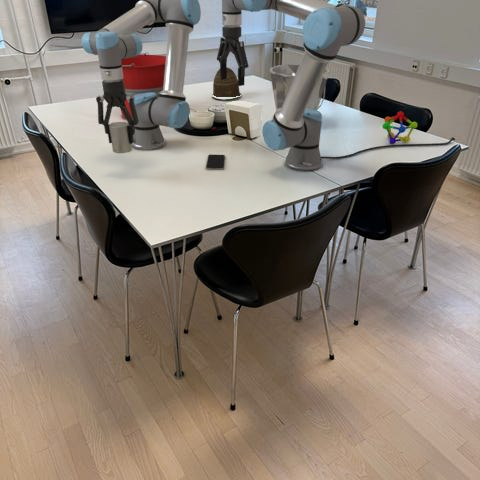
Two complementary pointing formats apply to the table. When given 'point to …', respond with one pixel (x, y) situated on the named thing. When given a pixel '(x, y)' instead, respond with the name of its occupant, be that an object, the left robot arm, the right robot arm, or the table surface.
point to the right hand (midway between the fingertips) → (232, 82)
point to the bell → (226, 85)
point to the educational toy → (398, 128)
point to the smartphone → (215, 162)
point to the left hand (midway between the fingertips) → (121, 142)
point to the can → (120, 137)
